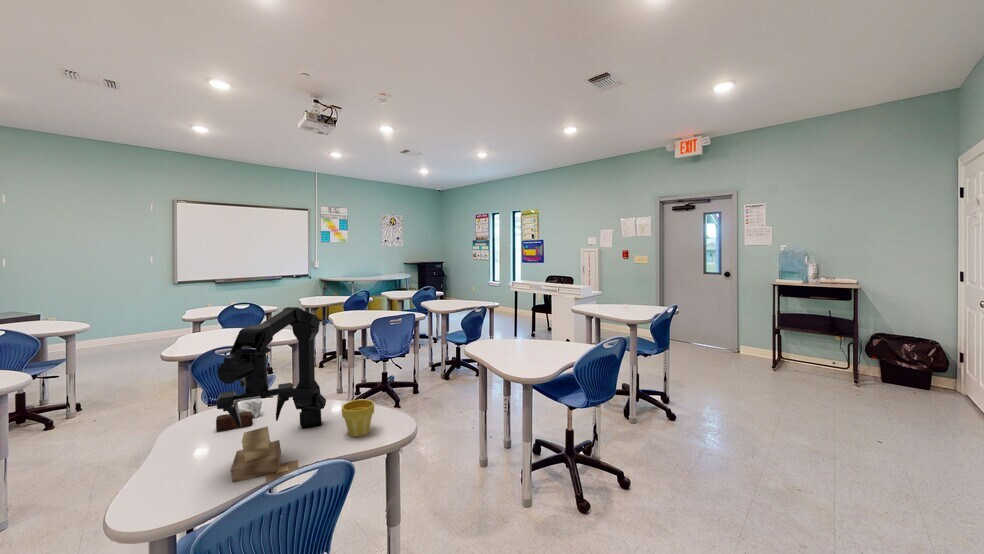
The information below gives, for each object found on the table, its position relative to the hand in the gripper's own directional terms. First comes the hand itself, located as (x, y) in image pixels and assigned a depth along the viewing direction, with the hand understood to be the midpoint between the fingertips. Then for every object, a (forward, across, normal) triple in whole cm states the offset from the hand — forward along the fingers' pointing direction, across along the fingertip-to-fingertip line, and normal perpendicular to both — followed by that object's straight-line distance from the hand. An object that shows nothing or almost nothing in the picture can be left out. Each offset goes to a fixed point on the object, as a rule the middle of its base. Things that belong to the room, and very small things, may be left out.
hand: (258, 423), depth 115 cm
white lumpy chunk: (+13, +7, -38) cm, 41 cm away
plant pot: (+13, -29, -7) cm, 32 cm away
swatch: (+12, -6, +8) cm, 15 cm away
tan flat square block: (+12, 0, +3) cm, 12 cm away
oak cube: (+8, 0, +3) cm, 8 cm away
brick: (+13, +9, -32) cm, 35 cm away
